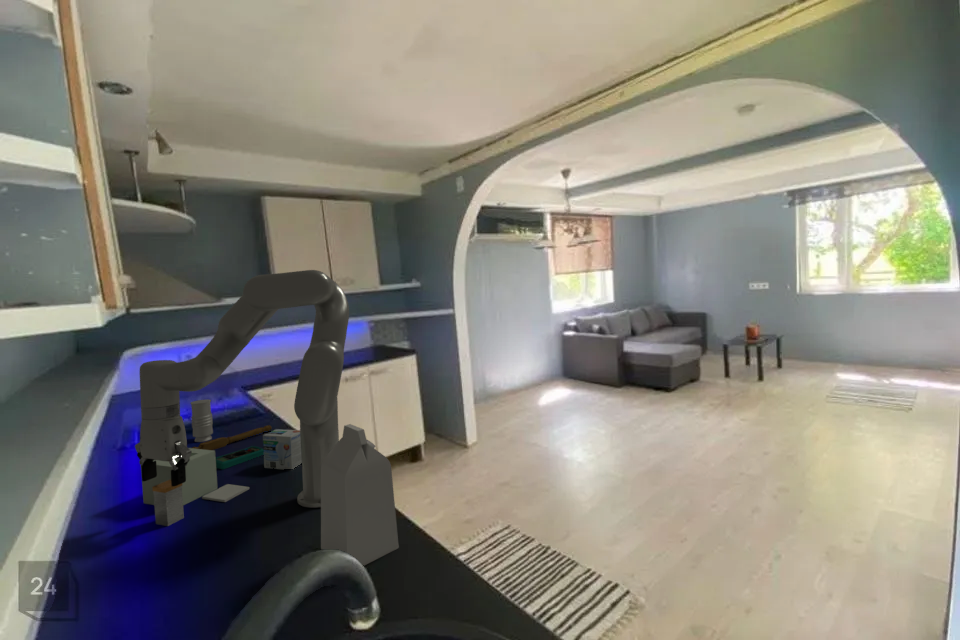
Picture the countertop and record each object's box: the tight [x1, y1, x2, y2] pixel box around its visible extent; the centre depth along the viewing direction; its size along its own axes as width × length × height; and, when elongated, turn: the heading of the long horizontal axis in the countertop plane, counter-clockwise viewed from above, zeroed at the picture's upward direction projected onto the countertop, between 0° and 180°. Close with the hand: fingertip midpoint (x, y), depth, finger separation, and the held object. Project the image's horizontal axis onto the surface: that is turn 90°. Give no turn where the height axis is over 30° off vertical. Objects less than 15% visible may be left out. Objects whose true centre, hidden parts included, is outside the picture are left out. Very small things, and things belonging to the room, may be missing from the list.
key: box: [152, 480, 185, 527], centre depth 105 cm, size 4×4×9 cm
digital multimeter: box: [215, 445, 264, 470], centre depth 145 cm, size 7×15×3 cm, turn 148°
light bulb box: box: [262, 428, 302, 470], centre depth 138 cm, size 11×7×11 cm, turn 76°
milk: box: [320, 423, 400, 566], centre depth 90 cm, size 12×12×26 cm
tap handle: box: [191, 424, 273, 451], centre depth 163 cm, size 3×3×30 cm
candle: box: [189, 398, 214, 443], centre depth 168 cm, size 7×7×15 cm
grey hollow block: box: [140, 447, 219, 506], centre depth 119 cm, size 12×12×11 cm
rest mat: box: [201, 483, 250, 503], centre depth 119 cm, size 8×8×1 cm
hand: (163, 481), depth 104 cm, fingers open, 9 cm apart
